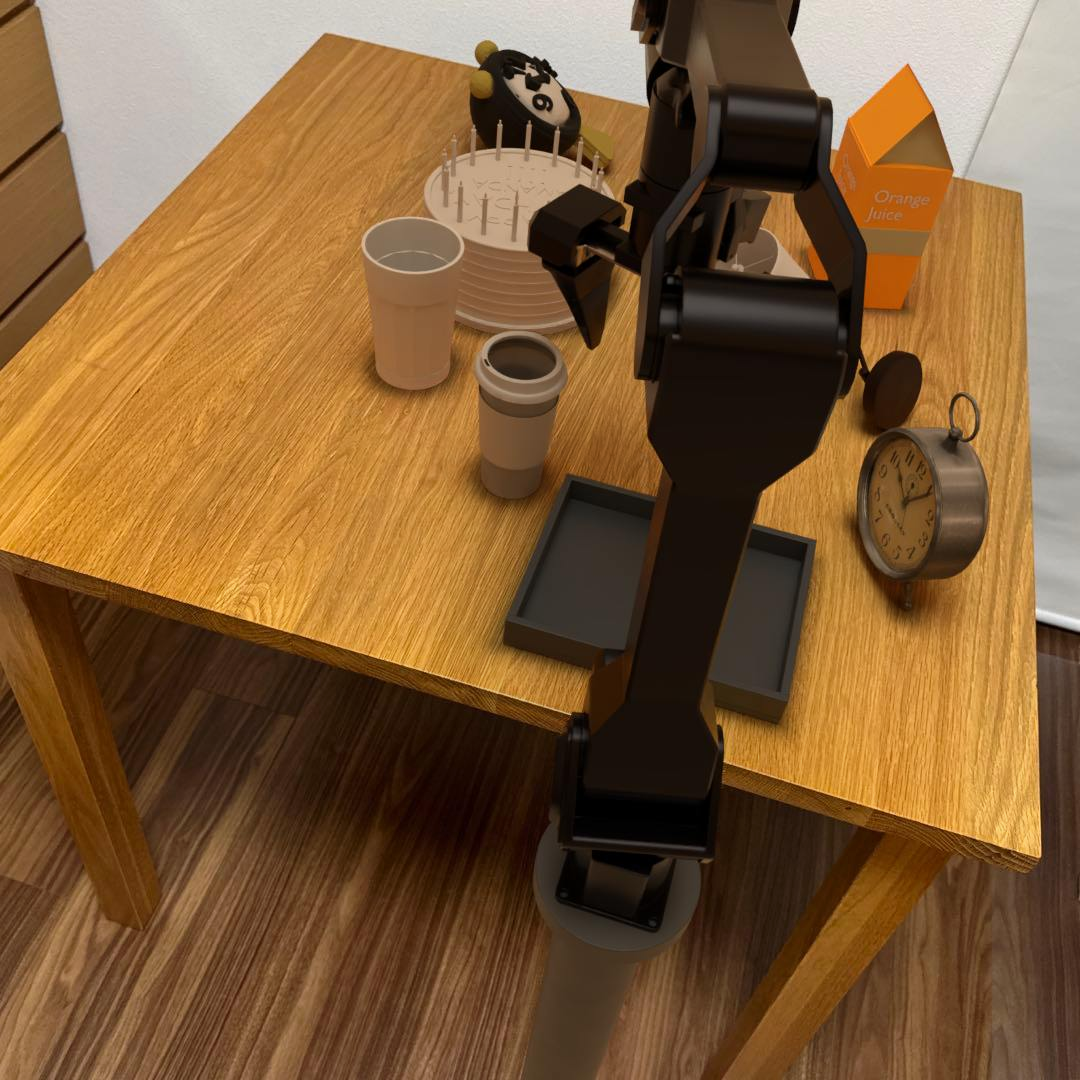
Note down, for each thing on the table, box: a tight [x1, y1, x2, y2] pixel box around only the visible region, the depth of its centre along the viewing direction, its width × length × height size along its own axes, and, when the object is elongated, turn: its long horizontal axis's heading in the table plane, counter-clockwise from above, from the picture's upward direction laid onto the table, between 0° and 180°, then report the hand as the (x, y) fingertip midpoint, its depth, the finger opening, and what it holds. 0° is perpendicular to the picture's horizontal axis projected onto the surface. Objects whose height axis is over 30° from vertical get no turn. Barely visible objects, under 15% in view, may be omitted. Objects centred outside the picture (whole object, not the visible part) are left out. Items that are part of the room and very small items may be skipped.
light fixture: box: [715, 227, 924, 430], centre depth 96 cm, size 10×16×17 cm
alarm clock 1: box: [468, 39, 614, 170], centre depth 118 cm, size 12×15×15 cm
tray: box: [502, 472, 818, 725], centre depth 80 cm, size 15×19×3 cm
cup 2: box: [473, 331, 569, 500], centre depth 84 cm, size 7×7×12 cm
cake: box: [422, 120, 616, 336], centre depth 102 cm, size 18×18×13 cm
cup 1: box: [360, 216, 464, 391], centre depth 92 cm, size 8×8×12 cm
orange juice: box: [807, 62, 955, 310], centre depth 104 cm, size 8×9×20 cm
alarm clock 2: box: [856, 391, 990, 611], centre depth 79 cm, size 11×5×16 cm, turn 10°
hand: (647, 375), depth 78 cm, fingers open, 9 cm apart
